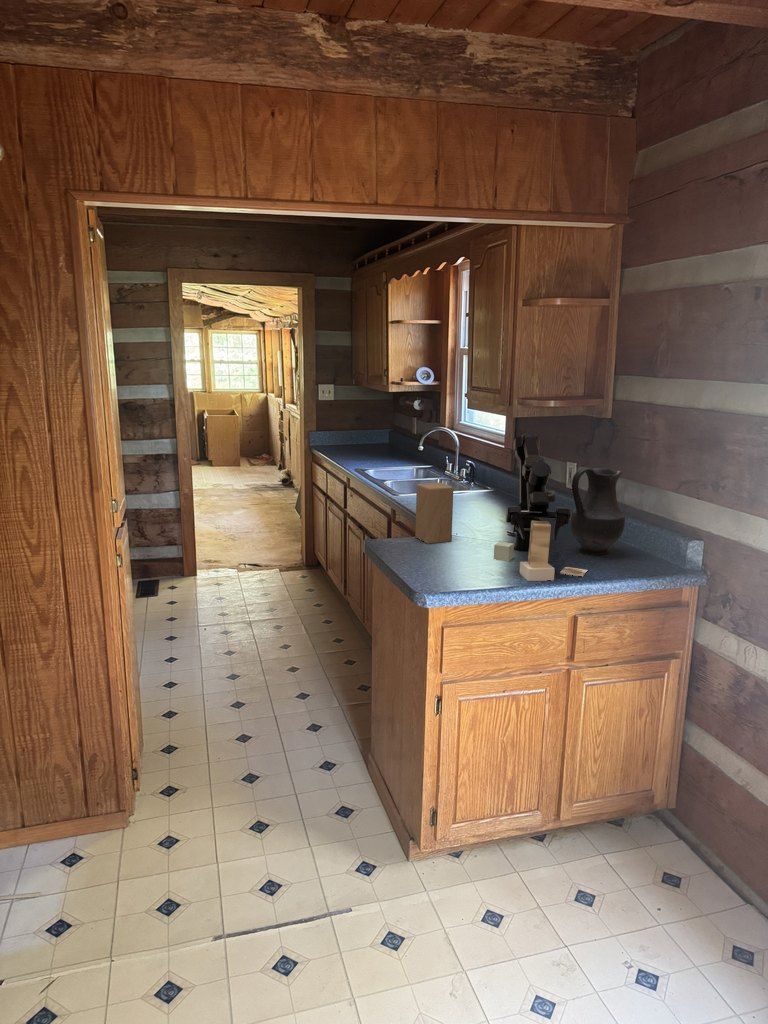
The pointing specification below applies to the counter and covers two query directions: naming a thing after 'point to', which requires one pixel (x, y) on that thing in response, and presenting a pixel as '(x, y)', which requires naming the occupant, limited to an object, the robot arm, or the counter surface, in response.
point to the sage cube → (503, 551)
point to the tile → (573, 571)
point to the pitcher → (597, 511)
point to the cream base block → (536, 572)
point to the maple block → (539, 544)
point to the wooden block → (434, 512)
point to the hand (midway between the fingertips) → (539, 539)
